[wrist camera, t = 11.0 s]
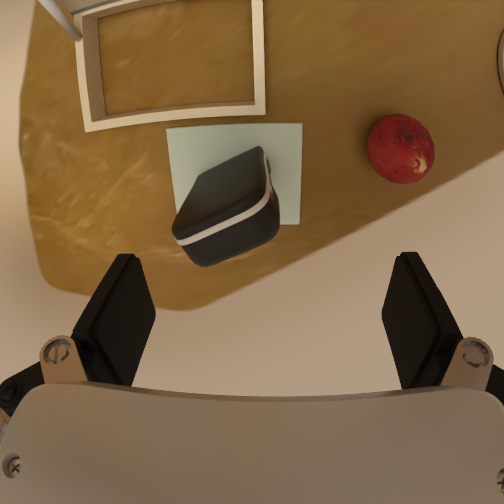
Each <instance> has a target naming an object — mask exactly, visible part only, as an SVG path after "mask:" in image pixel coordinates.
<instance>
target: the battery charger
mask: <svg viewBox="0 0 504 504" xmlns="http://www.w3.org/2000/svg"><path fill="white" fill-rule="evenodd" d="M270 173H271V169H270V164H269V161H268V159H267V157H266V153H265V151H263V149H262V148H261V147H260V146H257V147H254V148H252V149H250V150H248V151H246V152H244V153H241V154H239V155H237V156H235V157H233V158H231V159H229V160H227V161H225V162H223V163H221V164H219V165H217V166H215V167H213V168H211V169H209V170H207V171H205V172H204V173H202V174H200V175H198V176H197V178H196V181H195V183H194V185H193V187H192V188H191V190H190V192H189V193H188V195H187V197H186V199H185V200H184V202H183V204H182V206H181V208H180V210H179V212H178V214H177V216H176V218H175V220H174V223H173V225H172V233H173V235H174V239H175V240H176V242H177V243H178V244H179V245H181V246H182V248H183V249H184V251H185V252H186V253H187V255H188V256H189V258H190V259H191V260H192V261H193V262H194V263H195V264H197V265H199V266H201V267H207V266H212V265H215V264H217V263H220V262H222V261H225V260H227V259H230V258H232V257H235V256H237V255H240V254H242V253H244V252H247V251H249V250H251V249H254V248H256V247H258V246H261V245H263V244H265V243H267V242H268V241H270V240H271V239H273V238H274V237H275V236H276V234H277V232H278V230H279V227H280V207H279V199H278V196H277V194H276V192H275V190H274V188H273V186H272V182H271V177H270Z"/></svg>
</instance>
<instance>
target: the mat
mask: <svg viewBox="0 0 504 504" xmlns="http://www.w3.org/2000/svg"><path fill="white" fill-rule="evenodd" d="M166 133H167V142H168V150H169V159H170V167H171V174H172V182H173V189H174V196H175V203H176V210H177V214H178V212H179V210H180V208H181V206H182V204H183V202H184V200H185V199H186V197H187V195H188V193H189V192H190V190H191V188H192V187H193V185H194V183H195V181H196V178H197V176H198V175H200V174H202V173H204V172H205V171H207V170H209V169H211V168H213V167H215V166H217V165H219V164H221V163H223V162H225V161H227V160H229V159H231V158H233V157H235V156H237V155H239V154H241V153H244V152H246V151H248V150H250V149H252V148H254V147H257V146H260V147H261V148H262V149H263V151H265V153H266V157H267V159H268V161H269V164H270V169H271V173H270V177H271V182H272V186H273V188H274V190H275V192H276V194H277V196H278V199H279V207H280V225H284V224H299V218H300V195H301V165H302V123H234V124H214V125H198V126H185V127H174V128H167V129H166Z"/></svg>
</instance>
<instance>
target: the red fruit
mask: <svg viewBox="0 0 504 504" xmlns="http://www.w3.org/2000/svg"><path fill="white" fill-rule="evenodd" d="M367 150H368V156H369V160H370V162H371V164H372V165H373V167H374V168H375V170H376V172H377V173H378V174H379V175H381V176H382V177H384V178H385V179H387V180H388V181H390V182H393V183H400V184H408V183H412V182H416V181H418V180H419V179H421V178H422V177H424V176H425V175H426V174H427V172H428V171H429V170H430V168H431V167H432V164H433V161H434V157H435V155H434V143H433V141H432V139H431V136H430V134H429V132H428V130H427V129H426V128H425V127H424V126H423V125H422V124H421V123H420V122H418V121H417V120H416V119H414V118H411V117H408V116H405V115H402V114H395V115H388V116H385V117H384V118H382V119H381V120H379V121H378V122H377V123H375V125H374V127H373V128H372V130H371V132H370V134H369V138H368V143H367Z"/></svg>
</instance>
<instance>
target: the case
mask: <svg viewBox="0 0 504 504" xmlns="http://www.w3.org/2000/svg"><path fill="white" fill-rule="evenodd" d="M38 1H39V2H40V3H41V4H42V5H43V6H44V7H45V8H46V9H47V11H48V12H49V13H50V14H51V15H52V16H53V17H54V18H55V19H56V20H57V22H58V23H59V24H60V25H61V26H62V27H63V28H64V29H65V30H66V31H67V33H68V34H69V35H70V36H71V37H72V38H73V39H74V40H75V47H76V60H77V71H78V81H79V90H80V98H81V106H82V113H83V119H84V126H85V132H91V131H96V130H102V129H108V128H114V127H120V126H127V125H134V124H142V123H150V122H158V121H167V120H177V119H189V118H201V117H217V116H239V115H266V112H265V68H264V32H263V1H262V0H252V26H253V57H254V90H255V101H239V102H218V103H203V104H191V105H180V106H171V107H162V108H154V109H146V110H139V111H132V112H126V113H120V114H114V115H108V116H106V111H105V103H104V95H103V86H102V77H101V66H100V54H99V39H98V18H101V17H105V16H108V15H112V14H116V13H120V12H123V11H128V10H132V9H136V8H141V7H145V6H150V5H155V4H161V3H167V2H173V1H179V0H54V1H55V2H57V3H58V4H59V5H61V6H62V7H64V8H65V9H66V10H68V11H69V12H70V13H71V14H72V15H74V24H73V23H72V22H71V21H70V19H69V18H68V17H67V16H66V15H65V14H64V12H63V11H62V10H61V9H60V8H59V7H58V5H57V4H56V3H55V2H54V1H53V0H38Z"/></svg>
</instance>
